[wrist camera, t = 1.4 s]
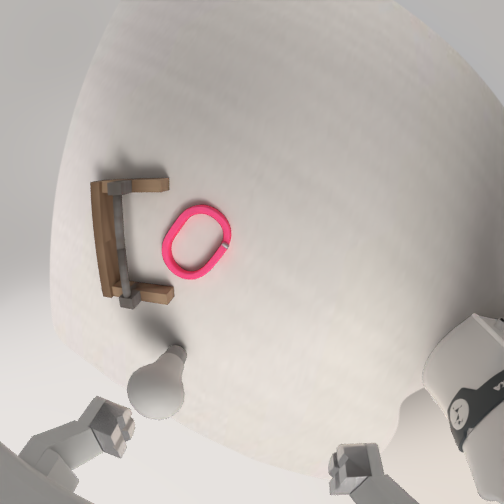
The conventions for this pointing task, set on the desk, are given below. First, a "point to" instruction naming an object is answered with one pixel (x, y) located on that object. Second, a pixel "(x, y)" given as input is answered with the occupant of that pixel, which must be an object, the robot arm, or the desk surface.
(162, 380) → the lightbulb
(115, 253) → the wooden bar clamp
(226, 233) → the fitness band
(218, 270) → the desk surface
